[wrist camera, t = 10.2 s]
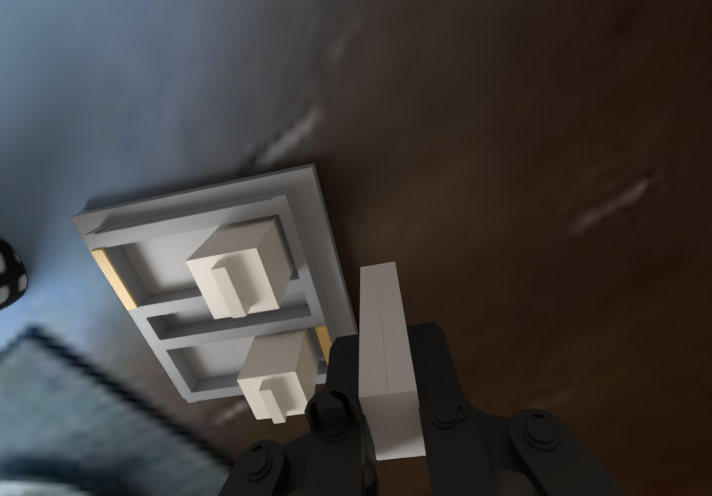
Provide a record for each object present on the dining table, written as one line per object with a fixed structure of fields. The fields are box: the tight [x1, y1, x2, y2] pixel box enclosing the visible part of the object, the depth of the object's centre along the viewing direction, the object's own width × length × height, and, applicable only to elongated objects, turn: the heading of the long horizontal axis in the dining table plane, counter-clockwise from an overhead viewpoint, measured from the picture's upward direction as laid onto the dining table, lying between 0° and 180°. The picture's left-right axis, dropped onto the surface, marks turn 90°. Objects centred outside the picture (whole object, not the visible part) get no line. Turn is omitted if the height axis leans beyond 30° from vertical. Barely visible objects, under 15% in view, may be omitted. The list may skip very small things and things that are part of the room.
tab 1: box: [186, 214, 294, 319], centre depth 20 cm, size 4×4×6 cm
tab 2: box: [237, 328, 319, 424], centre depth 24 cm, size 4×4×6 cm
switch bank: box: [69, 163, 359, 403], centre depth 25 cm, size 17×18×3 cm
